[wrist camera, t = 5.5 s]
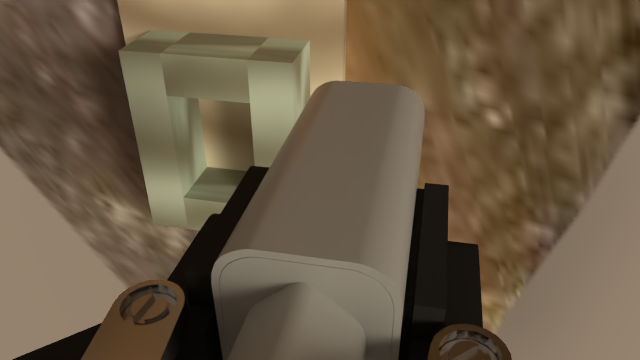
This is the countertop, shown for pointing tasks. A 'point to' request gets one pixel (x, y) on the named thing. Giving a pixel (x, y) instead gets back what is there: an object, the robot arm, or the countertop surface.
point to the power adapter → (327, 233)
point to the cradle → (220, 90)
